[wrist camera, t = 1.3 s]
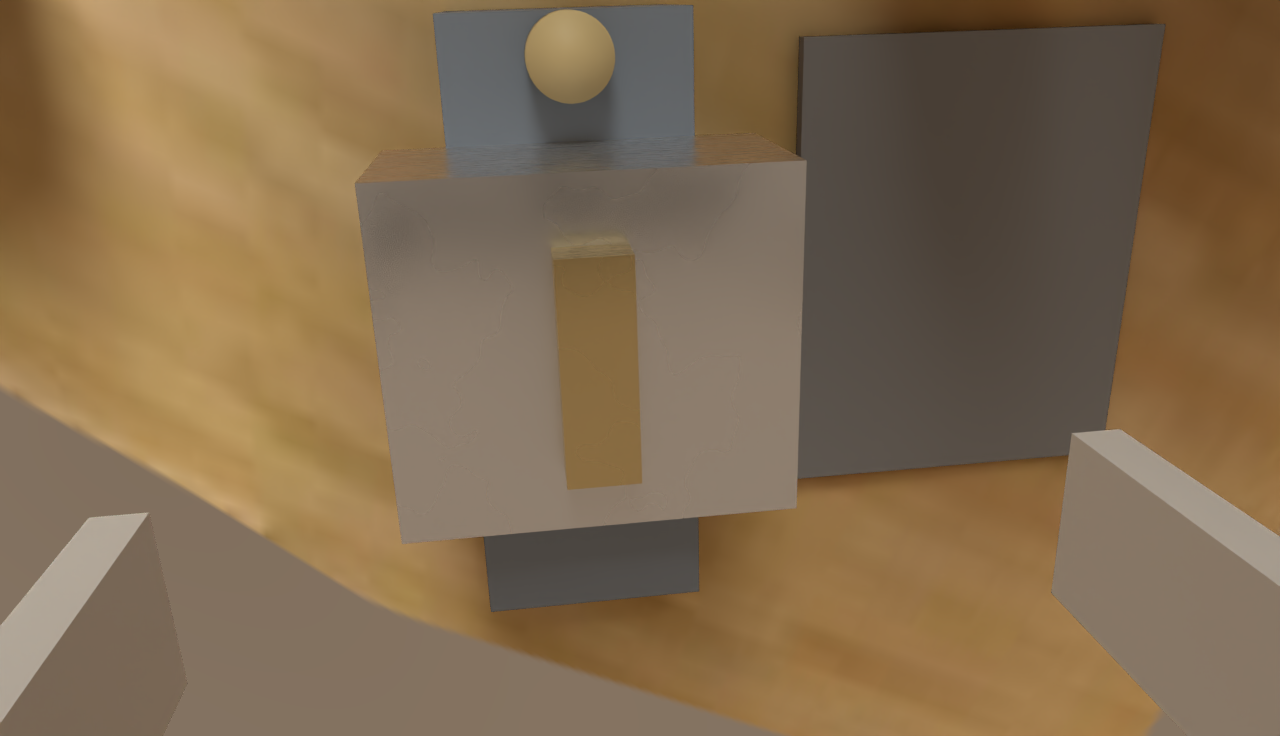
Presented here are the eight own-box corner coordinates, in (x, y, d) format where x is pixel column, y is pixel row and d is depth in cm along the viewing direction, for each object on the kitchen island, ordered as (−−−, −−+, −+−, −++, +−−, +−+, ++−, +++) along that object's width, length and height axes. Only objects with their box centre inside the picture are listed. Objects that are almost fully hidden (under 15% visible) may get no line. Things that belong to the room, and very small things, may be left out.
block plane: (445, 11, 27) (429, 14, 21) (661, 4, 28) (702, 5, 22) (492, 525, 33) (490, 637, 27) (671, 509, 33) (706, 615, 28)
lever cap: (381, 150, 23) (347, 192, 18) (754, 133, 24) (821, 167, 19) (418, 457, 26) (397, 567, 21) (751, 429, 27) (808, 529, 22)
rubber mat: (799, 36, 29) (804, 37, 28) (1155, 23, 30) (1165, 24, 29) (788, 472, 33) (791, 479, 33) (1093, 446, 35) (1101, 452, 34)
